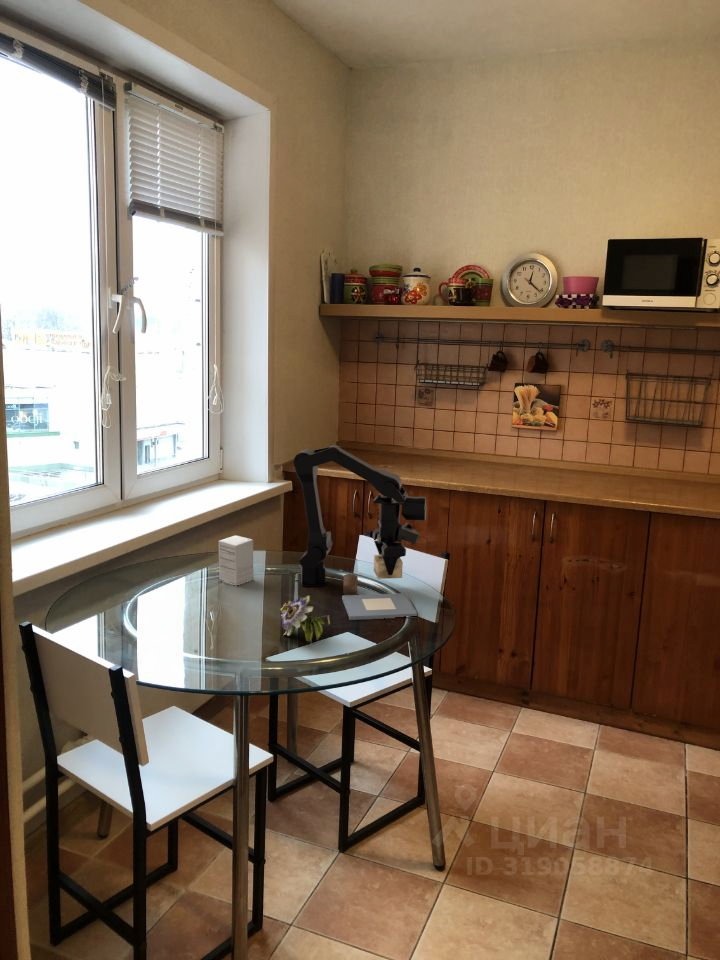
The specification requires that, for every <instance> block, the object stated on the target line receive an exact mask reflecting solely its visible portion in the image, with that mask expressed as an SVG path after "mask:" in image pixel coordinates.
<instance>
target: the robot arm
mask: <svg viewBox="0 0 720 960" xmlns="http://www.w3.org/2000/svg"><path fill="white" fill-rule="evenodd" d="M294 456H295V457H294V458H293V460H292V462H293V463H292V464H293V467H294V471H295V473H296V476H297V478H298V479H299V482H300V484H301V488H302V495H303V501H304V508H305V513H306V514H305V515H306V521H307V528H308V533H307V534H308V535H307V541H306V542H307V543H306V545H307V546H306V547H307V548H306V549H307V550H306V551H305V552H304V554H303V555H302V556H301V558H299V560H298V561H299V564H300V569H301V570H300V578H299V579H300V580H299V581H300V583H301V587H323V586H325V582H326V567H325V565H324V562H323V560H325V559H326V557H327V556H328V555H329V552H330V551H331V549H332V546H333V541H332V533H331V531H326V529H325V527H324V523H323V522H324V521H323V517H322V516H323V515H322V509H321V504H320V495H319V490H318V483H317V476H318V471H319V470H318V469H319V466H321V465H323V464H327V463H329V462H333V463H335V464H337V465H339V466H340V467H342V468H344V469H346V470H347V471H350V472H351V473H353V474H355V475H356V476H358V477H360V478H362V480H363V479H364V481H367V482H368V483H369V484H370V485H371V486H372V487H373V488H374V490H376V491H377V492H379V493H378V495H377V496H376V497H375V498H374V499H373V501H372V503H373V504H379V519H378V520H377V524H378V526H379V527H378V528H375V529H374V530H373V531H372V539H373V543H374V545H375V548H376V550H377V552H378V555H382V557H383V560H384V563H385V566H386V569H387V572H388V575H392V574H393V571H394V568H395V565H396V562H397V559H398V558H400V559H401V558H402V557H406V556H407V549H406V547H405V546H404V544H403V543H402V542H403V541H405V542H408V543H411V545H416V544H417V541H418V539H419V537H420V533H419V532H418V531H417V530H416V529H415V528H413V525H412V524H411V523H409V522H405V524H402V523H401V522H400V520H401V519H400V518H401V517H402V519H405V521H418V522H426V517H427V508H428V507H427V497H426V496H411V495H410V496H409V494H408V492H407V491H406V490H405V488H404V487H403V482H402V479H401V477H400V476H399V475H398V474H397V473H393V472H390V471H388V470H385V469H384V470H383V469H380V468H377V467H374V466H373V465H371V464H369V463H368V462H366V461H364V460H362V459H361V458H359V457H357V456H355V455H354V454H352V453H350V452H348V451H346V450H344V449H342V448H341V447H340V446H339V445H336V444H333V445H331V446H328V447H322V448H317V449H314V450H313V449H310V448H305V449H302V450H301V451H300V452H299V453H297V454H296V455H294ZM400 513H401V517H400Z"/></svg>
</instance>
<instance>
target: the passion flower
mask: <svg viewBox="0 0 720 960" xmlns="http://www.w3.org/2000/svg"><path fill="white" fill-rule="evenodd" d="M310 600H311V596H310V595H307V596H305V597H300V598H298V599H297V598H296V599H293V601H291V600H287V601H286V602H285V603H284V604H283V606H282V607H281V608H280V616H281V618H280V620H281V623H282V625H281V627H282V628H283V630H285V632H284V634H283V636H284V635H287V637H290V636H292V634H293V633H295V632H294V631H295V629H297V630H298V629H300V628H301V629H302V630H303V631H304V636H305V641H306V642H307V641H311V642H312V639H313V635H314V633H315V637H316V641H318V640H319V638H321V635H322V634H323V630H324V629H323V625H325V621H324V620H323V619H322V618H326V619H327V625H328V626H329V625H330V624H331V620H330V619H331V618H330V614H329V615H322V616H318V617H317V616H314V617H313V616H312V612H313V611H314V606H311V605H310V606H308V604H309V602H310ZM313 629H314V630H313Z"/></svg>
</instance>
